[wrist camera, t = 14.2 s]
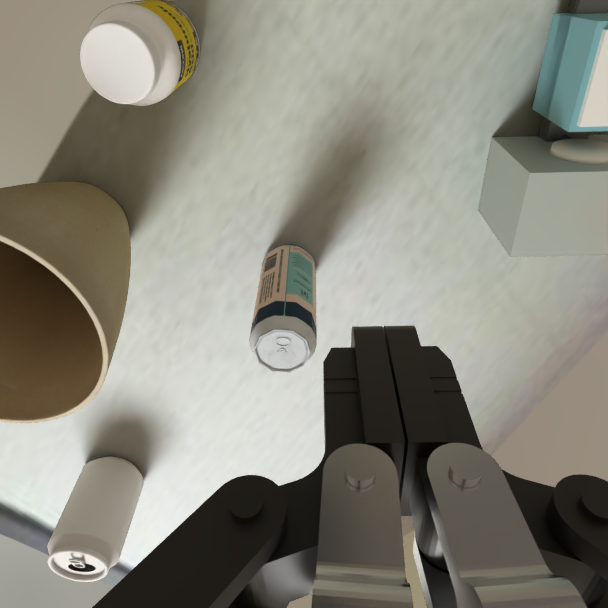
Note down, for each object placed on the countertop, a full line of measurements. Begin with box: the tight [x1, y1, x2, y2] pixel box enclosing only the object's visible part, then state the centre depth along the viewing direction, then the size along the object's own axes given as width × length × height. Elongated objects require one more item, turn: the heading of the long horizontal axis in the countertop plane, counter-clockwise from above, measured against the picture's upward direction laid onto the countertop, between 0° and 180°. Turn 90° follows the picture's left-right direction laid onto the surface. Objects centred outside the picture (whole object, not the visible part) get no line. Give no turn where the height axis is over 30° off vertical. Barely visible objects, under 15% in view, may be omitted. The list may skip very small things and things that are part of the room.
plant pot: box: [0, 182, 131, 423], centre depth 35 cm, size 15×15×16 cm
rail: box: [538, 0, 608, 142], centre depth 32 cm, size 16×3×2 cm, turn 2°
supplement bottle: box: [80, 0, 200, 106], centre depth 30 cm, size 5×5×10 cm
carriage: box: [532, 13, 608, 132], centre depth 31 cm, size 6×5×6 cm
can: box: [47, 456, 143, 582], centre depth 56 cm, size 8×8×12 cm
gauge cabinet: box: [478, 134, 608, 257], centre depth 36 cm, size 6×10×8 cm, turn 92°
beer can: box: [249, 245, 316, 372], centre depth 39 cm, size 5×5×12 cm
